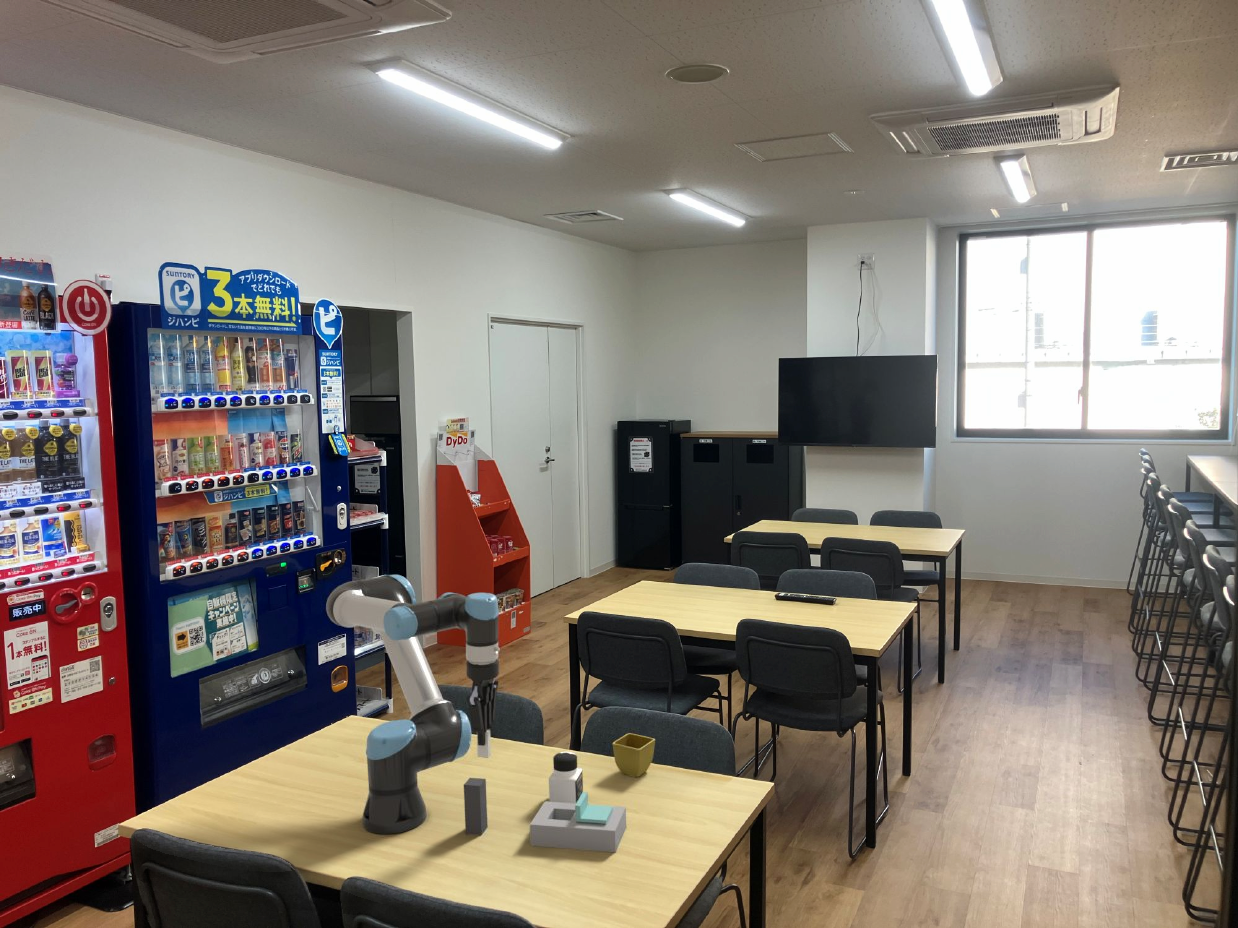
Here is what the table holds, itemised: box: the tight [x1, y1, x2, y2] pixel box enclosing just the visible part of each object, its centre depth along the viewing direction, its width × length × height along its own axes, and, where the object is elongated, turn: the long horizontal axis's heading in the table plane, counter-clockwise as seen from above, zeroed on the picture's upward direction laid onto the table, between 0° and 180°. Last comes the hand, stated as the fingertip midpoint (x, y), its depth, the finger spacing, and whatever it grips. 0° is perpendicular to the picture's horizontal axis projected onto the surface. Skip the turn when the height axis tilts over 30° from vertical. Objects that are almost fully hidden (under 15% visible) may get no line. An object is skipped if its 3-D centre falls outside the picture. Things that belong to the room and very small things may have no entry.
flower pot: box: [612, 732, 656, 778], centre depth 249 cm, size 9×9×9 cm
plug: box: [463, 777, 488, 836], centre depth 218 cm, size 4×4×12 cm
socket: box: [529, 801, 627, 853], centre depth 214 cm, size 20×12×5 cm, turn 78°
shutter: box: [575, 791, 614, 824], centre depth 213 cm, size 7×7×4 cm
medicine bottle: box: [548, 751, 584, 804], centre depth 233 cm, size 7×7×12 cm
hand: (484, 756), depth 218 cm, fingers closed
